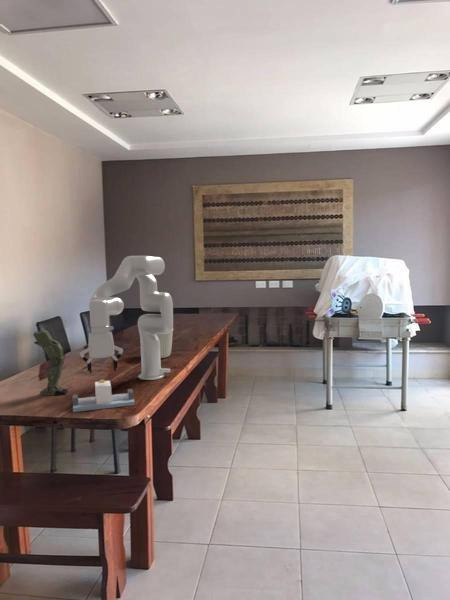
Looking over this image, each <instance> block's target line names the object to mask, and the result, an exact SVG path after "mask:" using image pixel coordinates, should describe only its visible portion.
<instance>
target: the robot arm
mask: <svg viewBox="0 0 450 600" xmlns="http://www.w3.org/2000/svg"><path fill="white" fill-rule="evenodd" d="M165 269H166V265H165V261H164V260H163V258H162V257H160V256H151V255H128V256H126V257H124V258H123V260H122V262H121V263H120V265H119V267H118V269H117V270H116V271H115V274H114V275H113V277H112V278H110V279H108V280H107V281H105V282H103V283H102V284H100V285H99V286H98V287H97V288H96V289H95V291H94V292H93V294H92V296H91V298H90V301H89V305H88V308H89V323H90V325H89V326H90V333H89V334H88V344H87V345H88V347H87V348H85V349H83V350H82V351H80V352H79V356H80V357H81V359H82V361H83V362H85V363H86V364H87V365H86V366H87V371H89V374H92V371H93V370H92V362H91V361H93V359H105V358H112V363H113V371H115V372H116V371H117V369H118V361H119V359H120V358H121V357H122V355H123V353H124V349H123V348H122V347H119V346H117V345H115V342H114V336H113V332H112V330H114V325H110V316H118V315H119V314H121V313H122V312H123V311H124V307H125V304H124V301H123V300H122V299H121V298H119V297H118V296H117V297H116V296H115V295H117V294H120V293H122V292H123V293H124V292H126V291H128V290H129V289H130V288H132V285H133V283H134V282H135V279H137V281H138V283H139V284H138V285H139V302H140V304H139V305H140V308H141V310H142V311H144V312H155V313H144V314H142V315H140V316H139V317H138V319H137V328H138V333H139V338H140V341H139V342H140V358H141V360H140V362H141V364H140V365H141V373H140V374H138V378H139V380H143V381H156V380H160V379H163V378H164V377H165V373H171V368H166V367H165V368H162V365H161V364H162V363H161V360H162V358H160V341H159V338H158V337H157V335H156V334H168V333H170V332H171V331H172V329H174V302H173V297H172V296H171V294H170V293H168V292H163V291H158V281H157V279H156V278H155V276H159V275H162V274H163V273H164V272H165ZM157 312H159V313H160V314H159V313H158V314H157ZM115 351H117V352H118V353H117V354H116V353H115ZM87 353H88V356H89V357H88V358H87V356H85V354H87ZM115 354H116V355H115Z"/></svg>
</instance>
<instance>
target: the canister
mask: <svg viewBox="0 0 450 600" xmlns="http://www.w3.org/2000/svg"><path fill="white" fill-rule="evenodd" d="M173 333H174V328H173V329H172V331H171V332H170V333H168V334H156V335H157V337H158V338H159V341H160V359H166V358H168V357H170V355H171V354H172V347H173V346H172V345H173Z"/></svg>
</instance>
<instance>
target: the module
mask: <svg viewBox="0 0 450 600" xmlns="http://www.w3.org/2000/svg"><path fill="white" fill-rule="evenodd" d="M94 387H95V388H94V389H95V390H94V392H95V397H96V404H104V403H112V395H113V393H112V385H111V380H105V379H100V380H99V381H95V382H94Z"/></svg>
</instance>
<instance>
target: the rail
mask: <svg viewBox="0 0 450 600" xmlns="http://www.w3.org/2000/svg"><path fill="white" fill-rule="evenodd" d="M134 394H135V393H134V389H133V388H128V389H127V393H116V394H112V401H115V400H124V399H134V400H135V397H134V396H135V395H134ZM87 403H96V396H88V397H87V396H86V397H79V395H78V394H72V407H73V406H74V405H78V404H87Z"/></svg>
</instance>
